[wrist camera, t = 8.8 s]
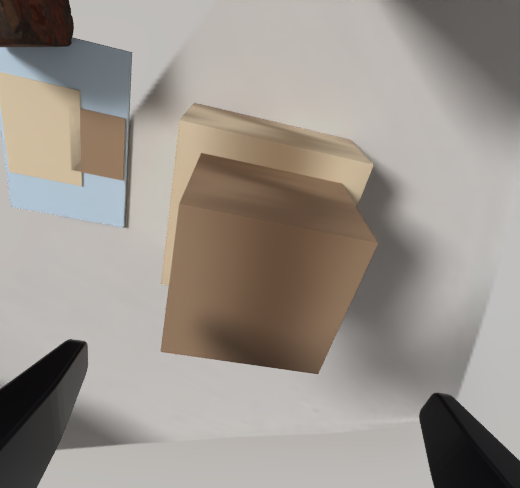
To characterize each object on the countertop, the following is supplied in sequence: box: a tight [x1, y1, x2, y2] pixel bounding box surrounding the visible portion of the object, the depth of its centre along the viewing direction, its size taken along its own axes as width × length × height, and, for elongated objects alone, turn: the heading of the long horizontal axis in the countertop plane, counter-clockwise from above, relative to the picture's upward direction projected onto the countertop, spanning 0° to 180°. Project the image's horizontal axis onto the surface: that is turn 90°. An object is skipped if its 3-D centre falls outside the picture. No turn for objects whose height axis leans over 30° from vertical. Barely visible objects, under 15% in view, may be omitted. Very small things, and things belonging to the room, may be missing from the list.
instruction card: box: [0, 38, 132, 228], centre depth 18 cm, size 6×9×1 cm, turn 167°
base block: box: [161, 103, 374, 285], centre depth 18 cm, size 8×8×4 cm
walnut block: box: [161, 153, 378, 374], centre depth 14 cm, size 6×6×5 cm
